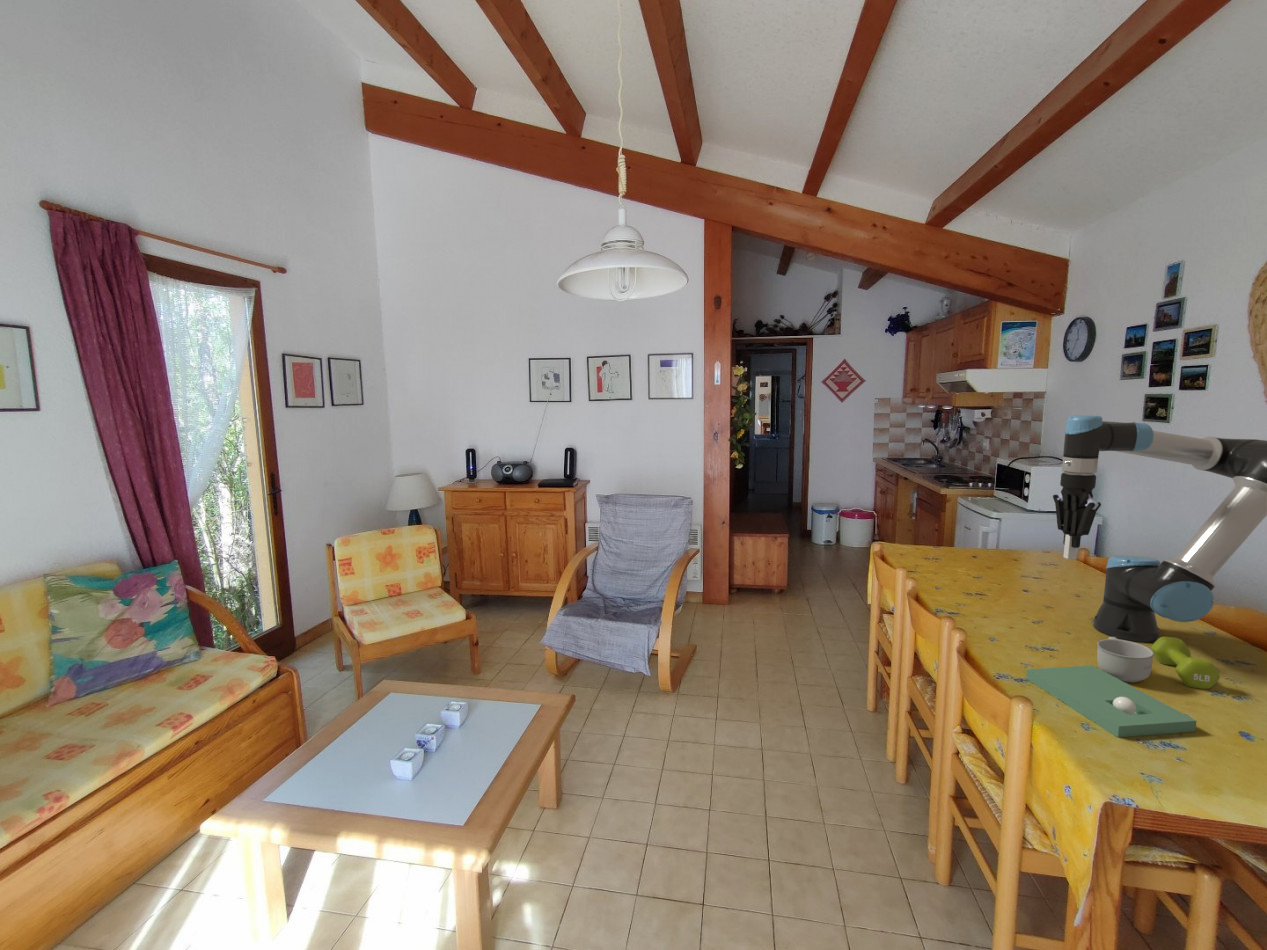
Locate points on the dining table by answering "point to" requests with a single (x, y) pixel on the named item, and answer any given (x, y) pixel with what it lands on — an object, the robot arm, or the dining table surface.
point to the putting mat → (1110, 701)
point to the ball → (1125, 705)
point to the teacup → (1124, 659)
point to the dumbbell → (1185, 663)
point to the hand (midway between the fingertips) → (1070, 557)
